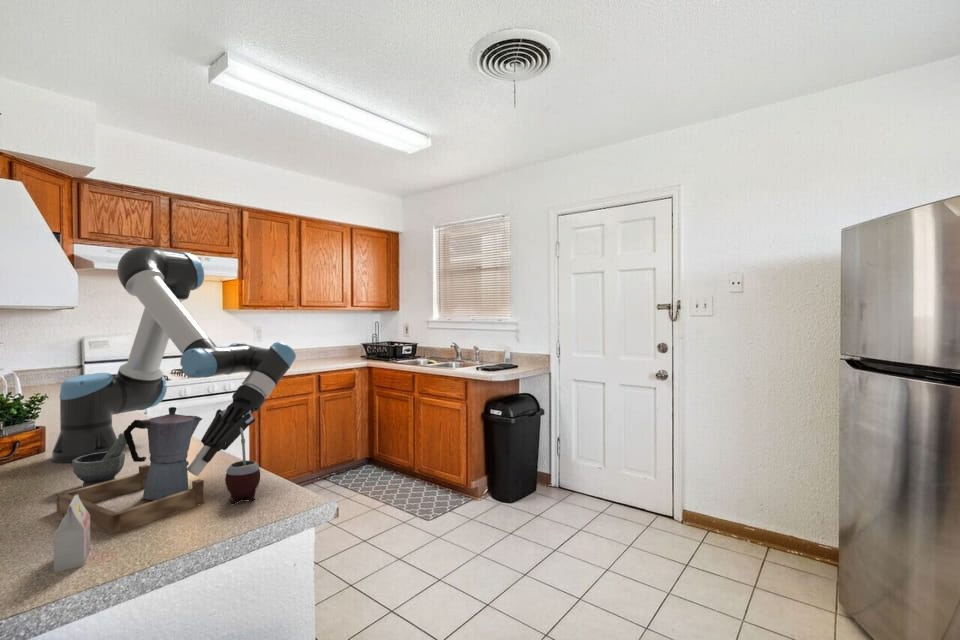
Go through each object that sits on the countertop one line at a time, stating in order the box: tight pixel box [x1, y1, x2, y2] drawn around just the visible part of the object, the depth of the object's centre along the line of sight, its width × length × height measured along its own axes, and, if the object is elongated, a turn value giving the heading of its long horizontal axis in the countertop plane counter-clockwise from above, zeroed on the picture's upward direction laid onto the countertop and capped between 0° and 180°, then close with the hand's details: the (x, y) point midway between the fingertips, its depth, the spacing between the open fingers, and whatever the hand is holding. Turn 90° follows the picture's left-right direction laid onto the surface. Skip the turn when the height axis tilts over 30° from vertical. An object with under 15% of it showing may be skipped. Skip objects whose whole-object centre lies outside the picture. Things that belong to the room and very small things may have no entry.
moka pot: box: [122, 406, 203, 501], centre depth 107 cm, size 10×15×20 cm, turn 144°
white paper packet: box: [53, 494, 91, 573], centre depth 79 cm, size 4×7×10 cm, turn 33°
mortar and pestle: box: [71, 432, 128, 488], centre depth 114 cm, size 11×9×12 cm
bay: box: [56, 464, 205, 536], centre depth 101 cm, size 17×23×5 cm
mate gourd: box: [224, 428, 261, 505], centre depth 106 cm, size 8×8×15 cm
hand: (192, 472), depth 111 cm, fingers closed
